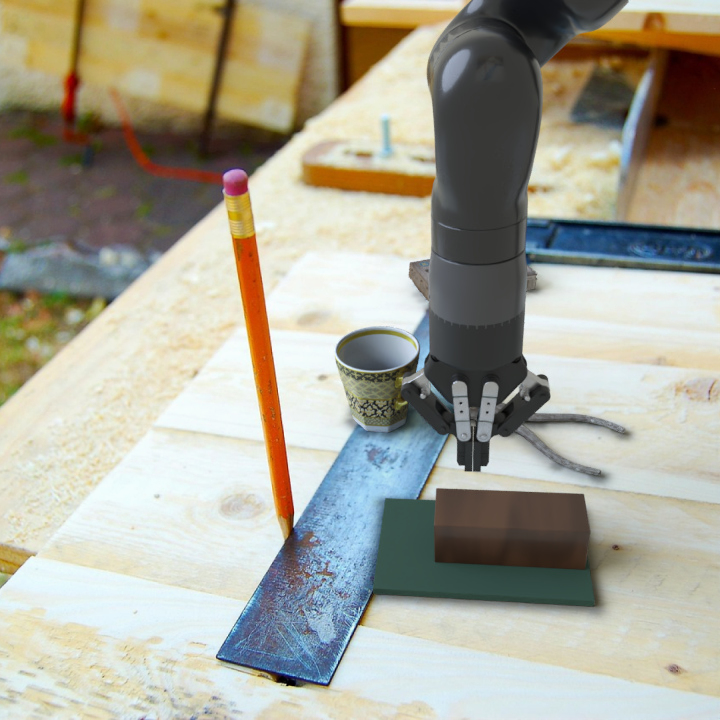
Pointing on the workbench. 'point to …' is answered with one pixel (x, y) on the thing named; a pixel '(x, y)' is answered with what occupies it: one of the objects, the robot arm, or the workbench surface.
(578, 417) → the pliers
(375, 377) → the ceramic cup
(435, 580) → the rubber mat
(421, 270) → the box
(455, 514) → the walnut block
